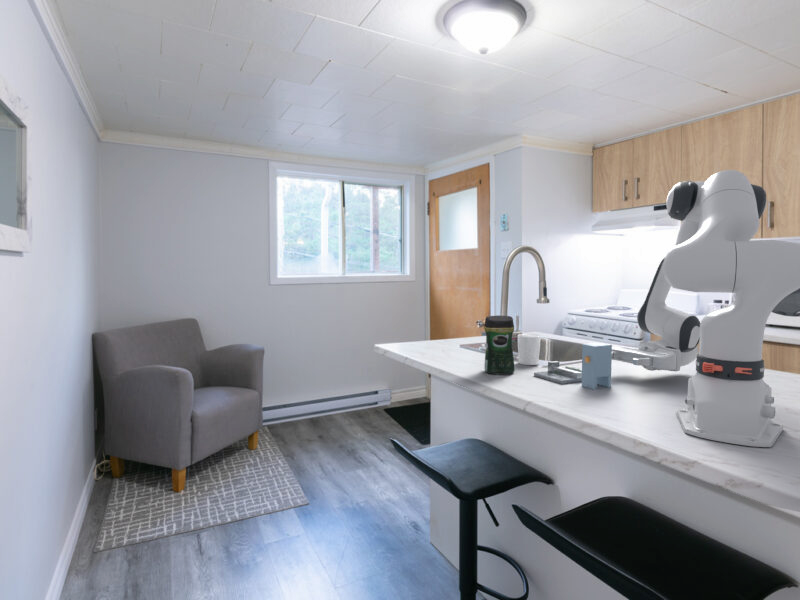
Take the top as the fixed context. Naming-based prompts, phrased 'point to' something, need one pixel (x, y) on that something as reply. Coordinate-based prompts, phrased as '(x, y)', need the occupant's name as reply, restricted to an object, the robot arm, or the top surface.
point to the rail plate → (556, 377)
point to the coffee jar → (499, 344)
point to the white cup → (529, 349)
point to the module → (596, 365)
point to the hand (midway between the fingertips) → (620, 359)
